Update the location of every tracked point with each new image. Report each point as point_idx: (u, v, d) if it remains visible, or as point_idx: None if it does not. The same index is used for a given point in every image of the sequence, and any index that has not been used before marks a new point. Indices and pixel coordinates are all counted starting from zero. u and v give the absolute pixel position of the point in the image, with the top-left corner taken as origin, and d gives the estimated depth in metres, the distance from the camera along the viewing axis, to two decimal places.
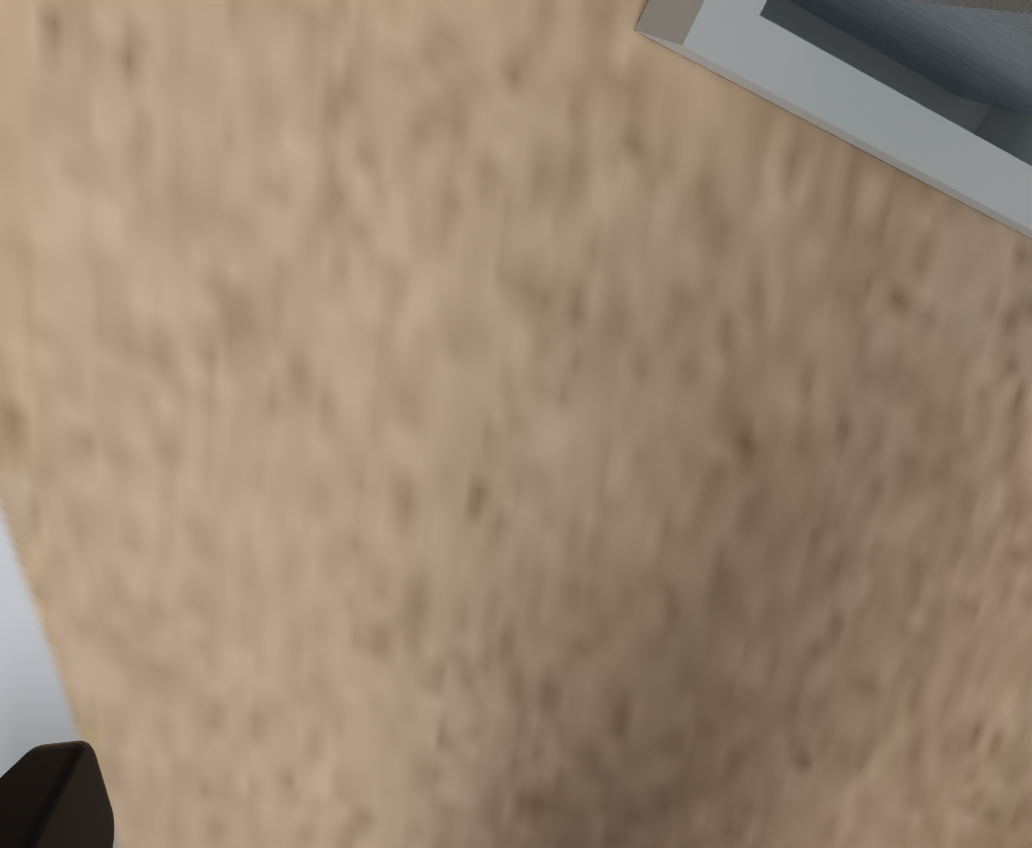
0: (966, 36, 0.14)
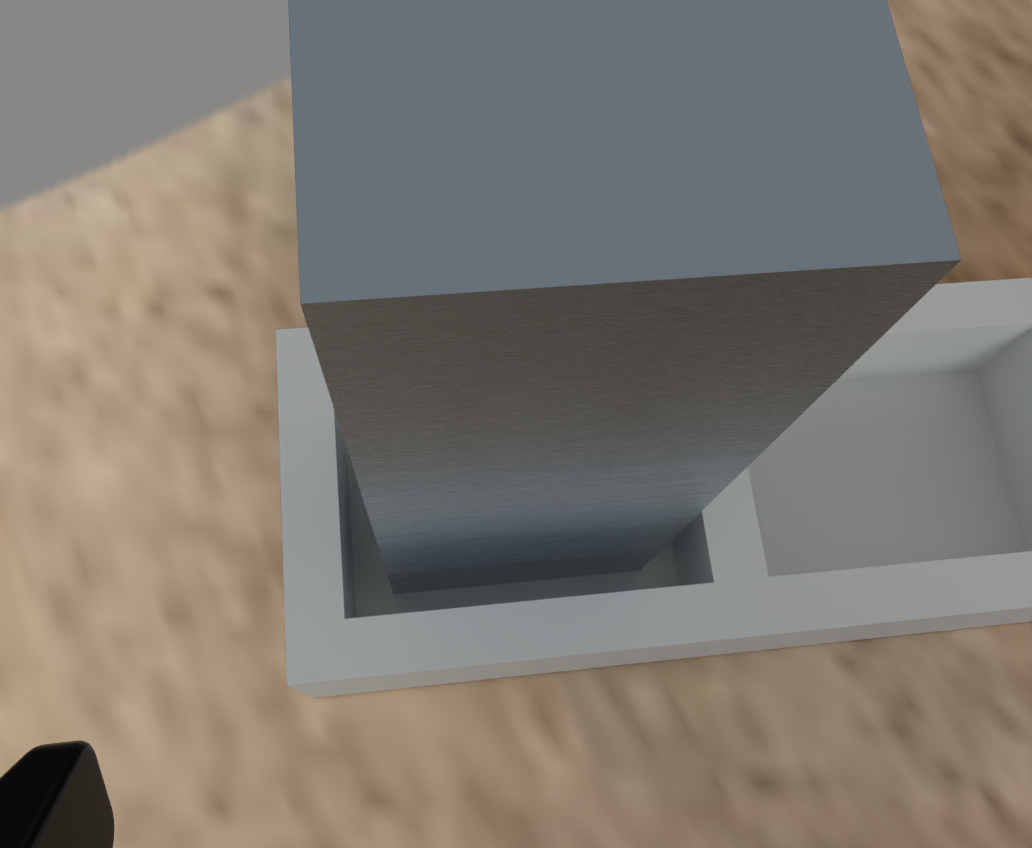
0: (452, 524, 0.14)
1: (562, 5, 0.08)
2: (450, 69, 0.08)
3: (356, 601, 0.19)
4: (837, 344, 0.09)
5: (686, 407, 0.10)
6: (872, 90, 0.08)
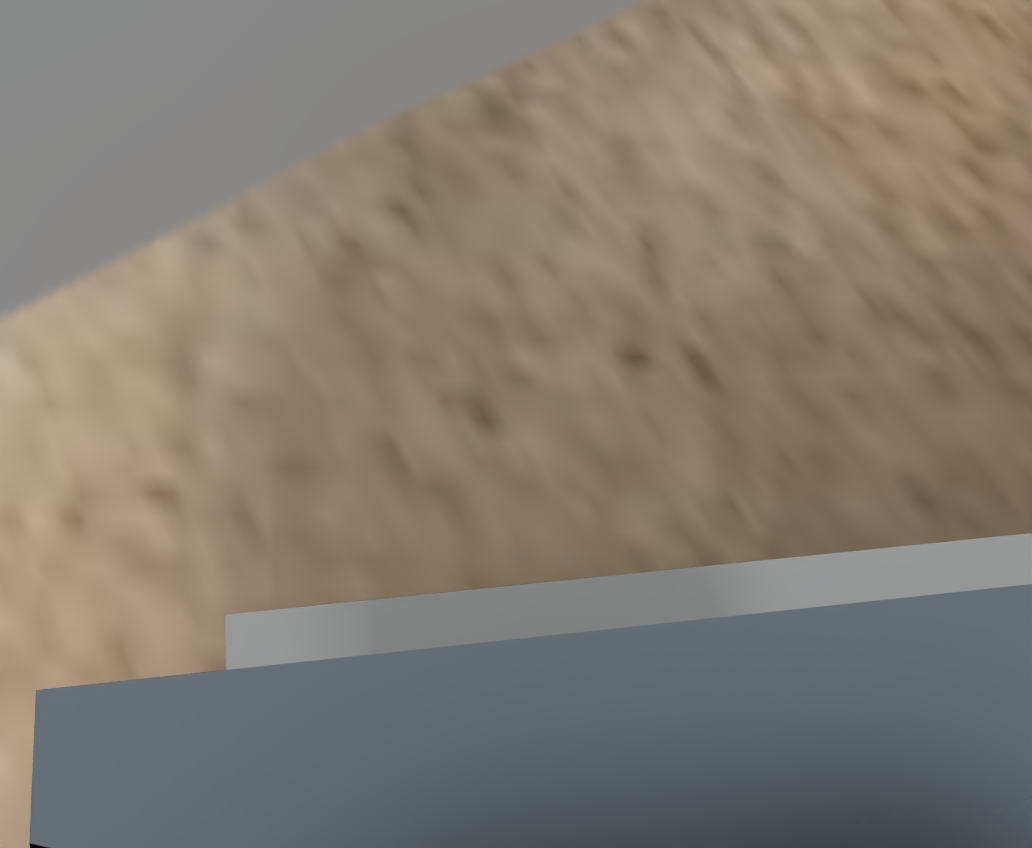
0: None
1: None
2: None
3: None
4: None
5: None
6: None
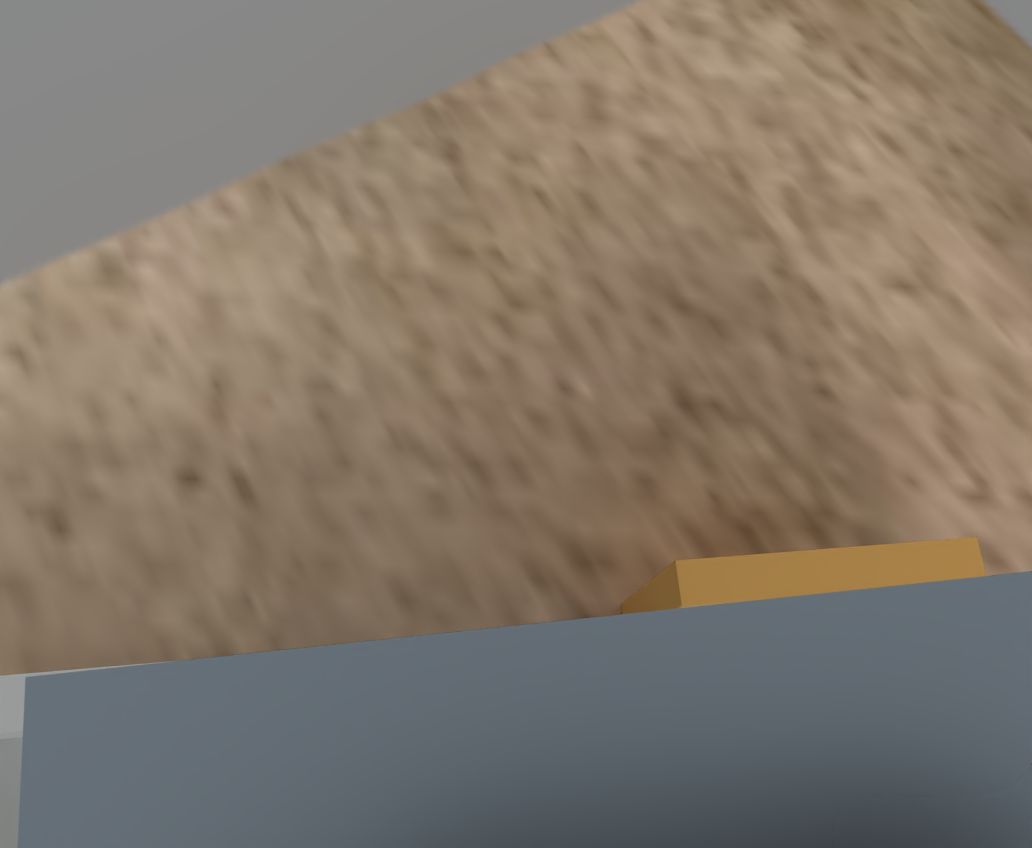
0: None
1: (1023, 756, 0.02)
2: None
3: None
4: None
5: None
6: None
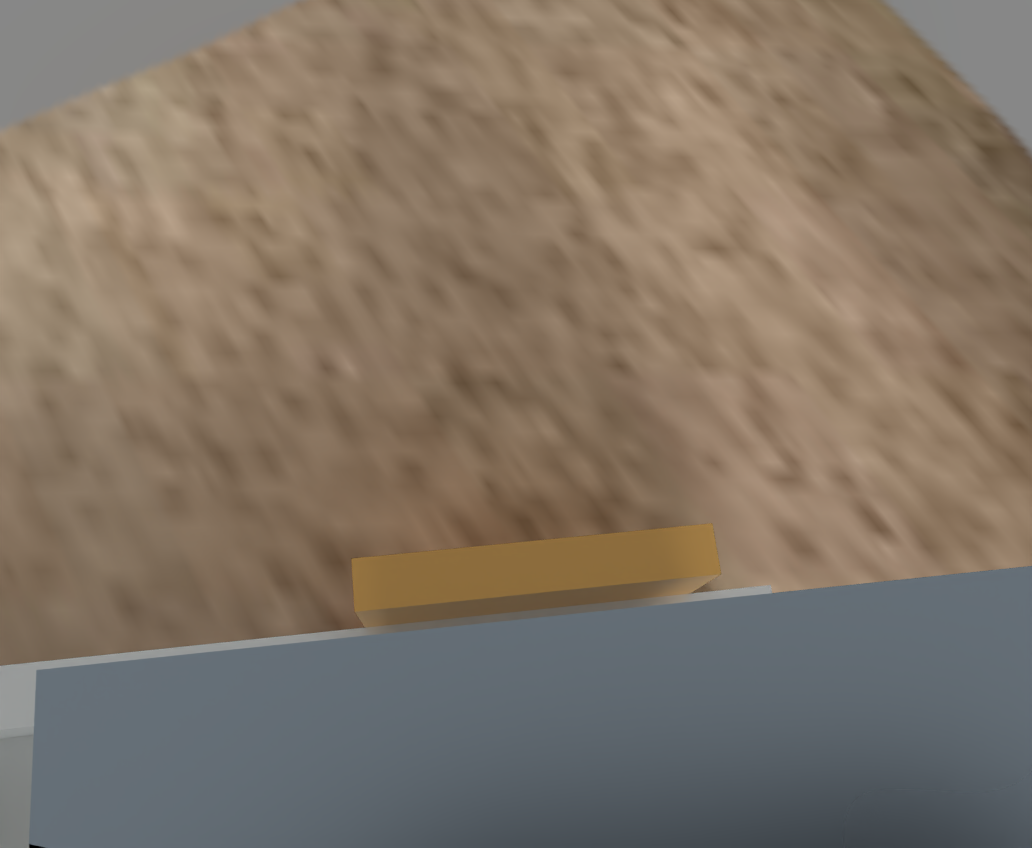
0: None
1: None
2: None
3: None
4: None
5: None
6: None
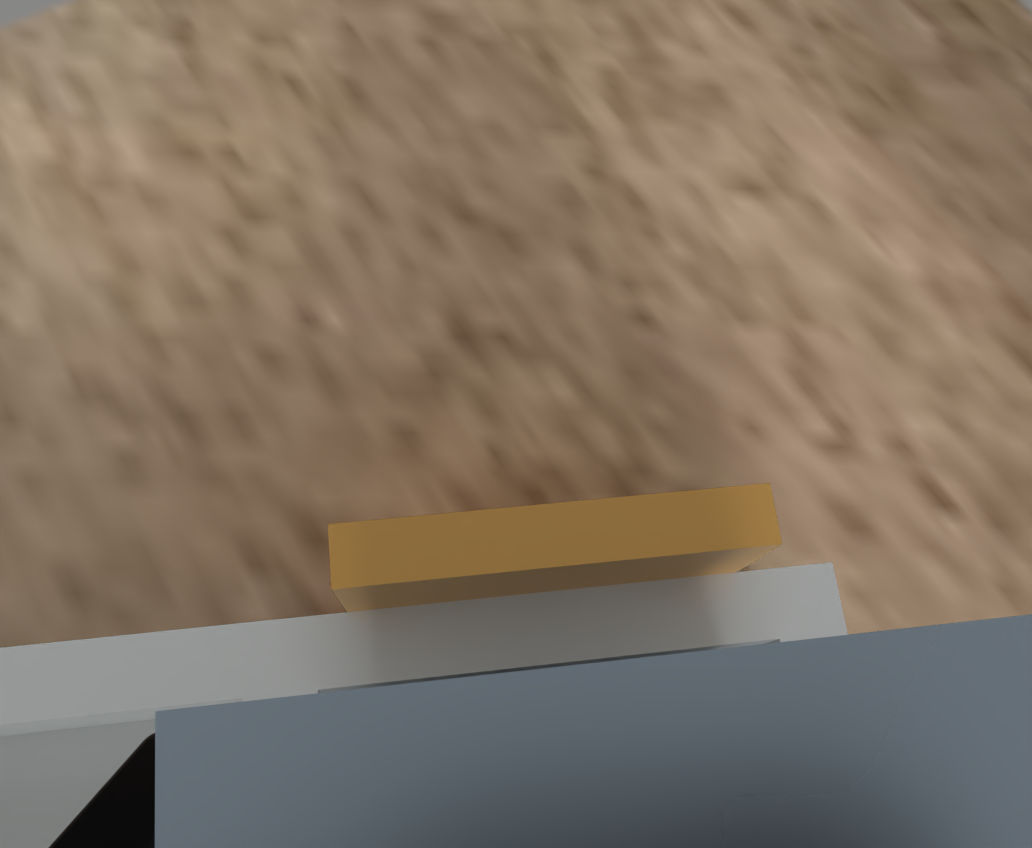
0: None
1: (862, 765, 0.03)
2: None
3: None
4: None
5: None
6: None
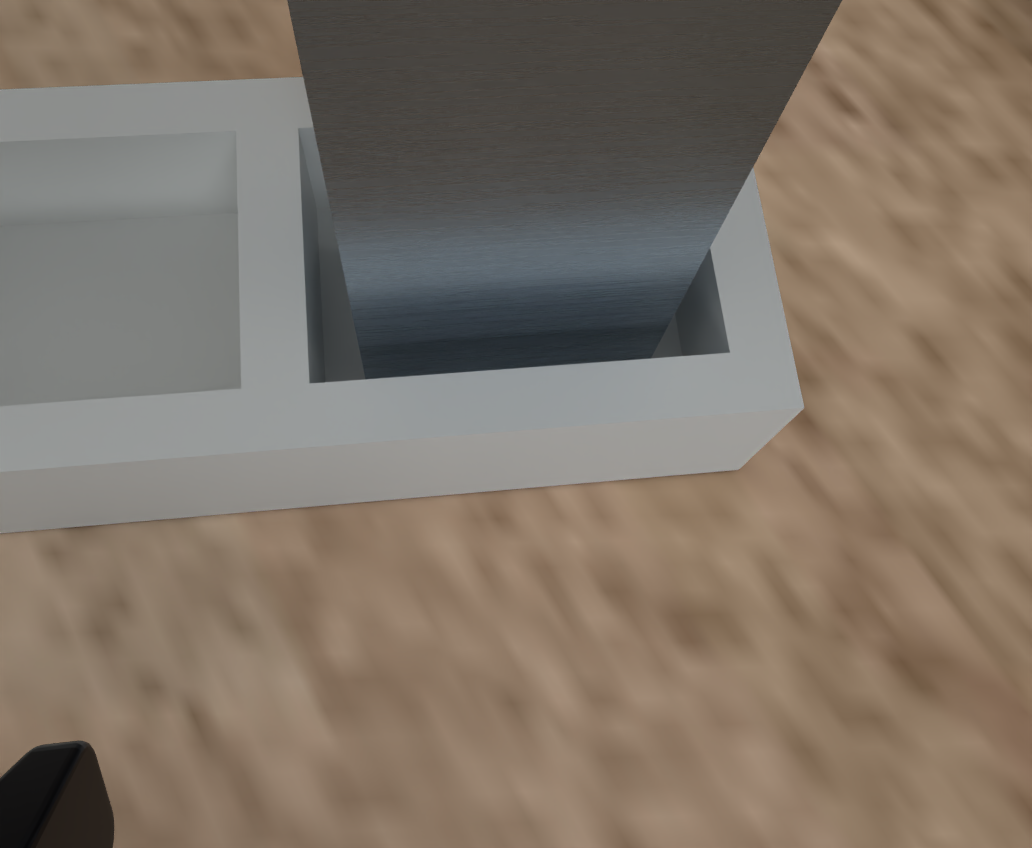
0: (427, 225, 0.12)
1: None
2: None
3: None
4: None
5: None
6: None
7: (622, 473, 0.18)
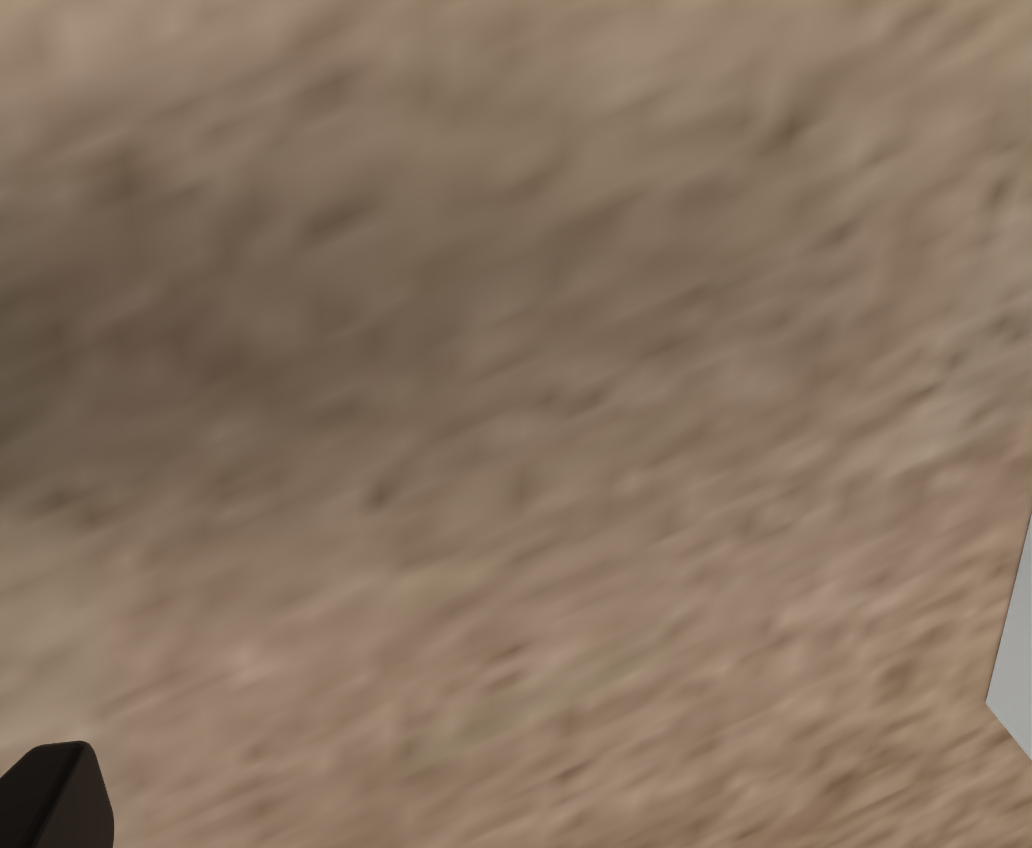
0: None
1: None
2: None
3: None
4: None
5: None
6: None
7: (1012, 650, 0.26)
